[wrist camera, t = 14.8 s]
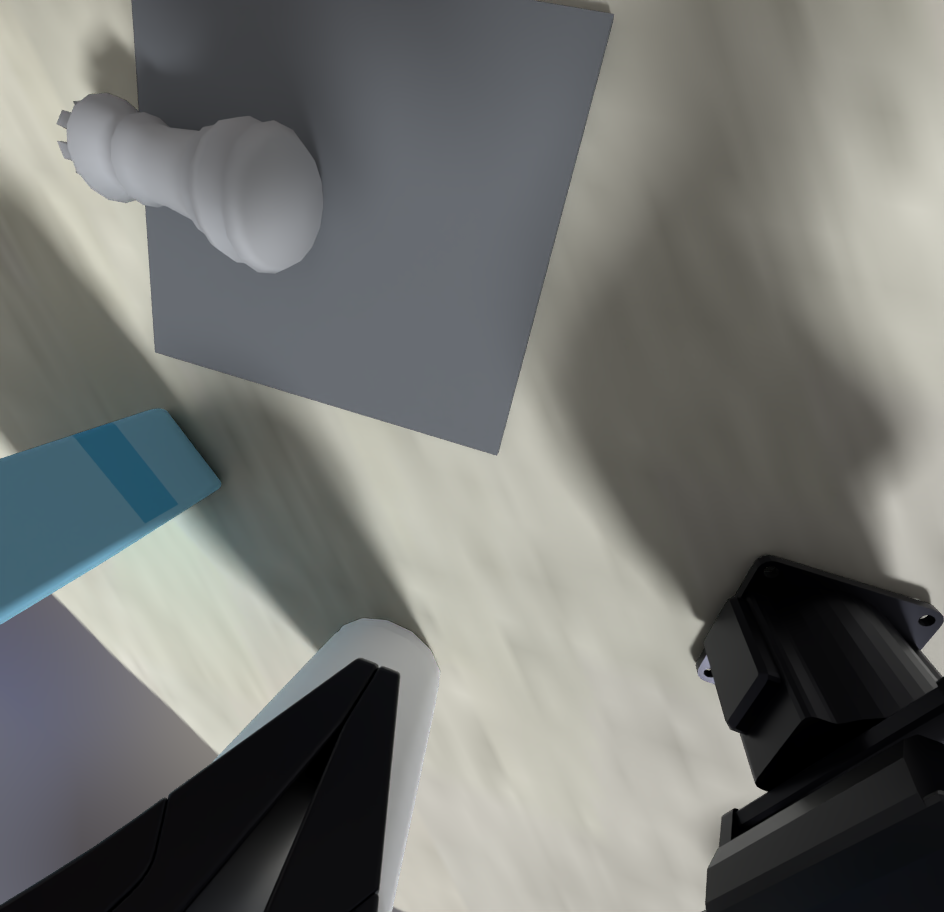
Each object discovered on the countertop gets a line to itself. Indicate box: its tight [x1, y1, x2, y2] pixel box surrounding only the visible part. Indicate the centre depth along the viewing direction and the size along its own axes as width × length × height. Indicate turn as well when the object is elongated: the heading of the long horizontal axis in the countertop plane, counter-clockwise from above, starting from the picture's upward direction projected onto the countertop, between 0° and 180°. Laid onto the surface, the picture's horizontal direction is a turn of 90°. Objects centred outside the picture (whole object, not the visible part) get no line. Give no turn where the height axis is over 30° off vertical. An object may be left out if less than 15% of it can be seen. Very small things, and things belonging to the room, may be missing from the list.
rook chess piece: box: [57, 93, 323, 274], centre depth 16 cm, size 4×4×8 cm
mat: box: [132, 0, 614, 455], centre depth 17 cm, size 16×14×1 cm
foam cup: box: [212, 618, 440, 912], centre depth 20 cm, size 10×9×13 cm
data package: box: [0, 408, 221, 624], centre depth 20 cm, size 12×4×12 cm, turn 122°
